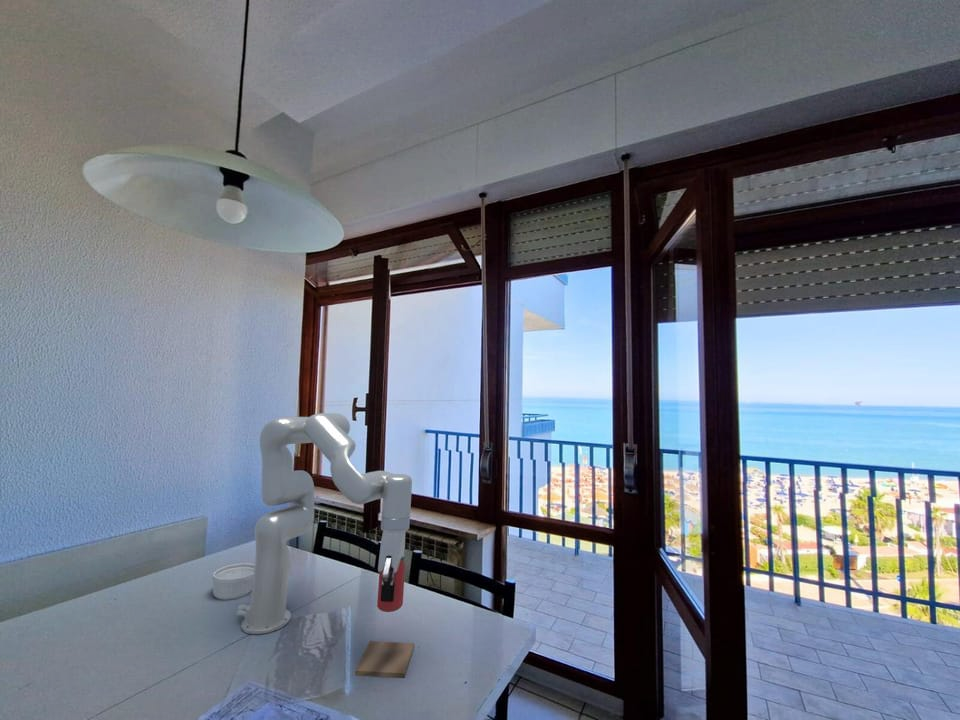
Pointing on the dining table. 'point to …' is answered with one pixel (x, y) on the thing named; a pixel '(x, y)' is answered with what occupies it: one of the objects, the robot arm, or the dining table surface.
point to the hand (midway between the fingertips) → (390, 593)
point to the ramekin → (233, 581)
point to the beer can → (398, 590)
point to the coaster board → (385, 659)
